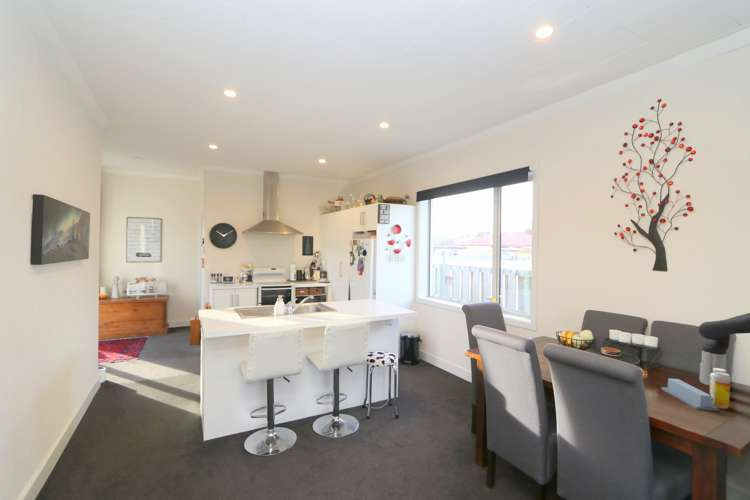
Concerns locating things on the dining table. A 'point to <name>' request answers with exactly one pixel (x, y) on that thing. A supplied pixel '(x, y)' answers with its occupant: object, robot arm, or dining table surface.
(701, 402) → the rail
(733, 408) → the dining table surface
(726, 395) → the beer can
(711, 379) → the supplement bottle
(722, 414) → the dining table surface
